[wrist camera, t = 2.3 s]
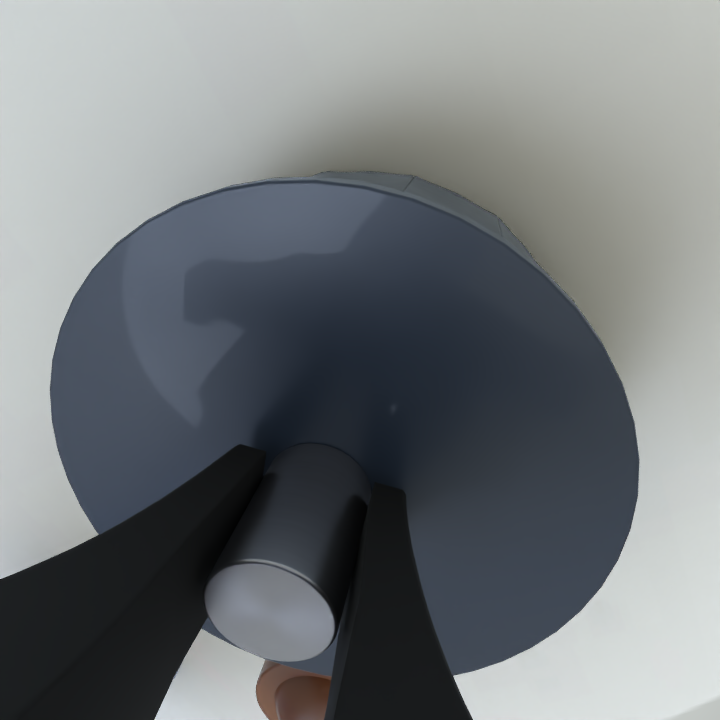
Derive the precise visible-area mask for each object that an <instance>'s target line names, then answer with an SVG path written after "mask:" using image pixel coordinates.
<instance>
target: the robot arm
mask: <svg viewBox="0 0 720 720" xmlns="http://www.w3.org/2000/svg"><path fill="white" fill-rule="evenodd" d="M265 459H266V451H264V450H260V449H256V448H253V447H249V446H246V445H242V444H239V445H237V446H235V447H233V448H232V449H231V450H229V451H228V452H227V453H225V454H224V455H223V456H221V457H220V458H219V459H217V460H216V461H215V462H213V463H212V464H211V465H209V466H208V467H206V468H205V469H204V470H202V471H201V472H199V473H198V474H197V475H195V476H194V477H192V478H191V479H189V480H188V481H187V482H185V483H184V484H182V485H181V486H179V487H178V488H176V489H175V490H173V491H172V492H170V493H169V494H167V495H166V496H164V497H163V498H161V499H160V500H158V501H156V502H155V503H153V504H151V505H150V506H148V507H146V508H145V509H143V510H142V511H140V512H138V513H137V514H135V515H133V516H132V517H130V518H128V519H127V520H125V521H123V522H121V523H120V524H118V525H116V526H114V527H112V528H111V529H109V530H107V531H105V532H103V533H101V534H100V535H98V536H96V537H94V538H92V539H90V540H88V541H86V542H84V543H82V544H80V545H78V546H76V547H74V548H72V549H70V550H67V551H65V552H63V553H61V554H59V555H56V556H54V557H52V558H50V559H48V560H45V561H43V562H41V563H38V564H36V565H34V566H31V567H29V568H27V569H24V570H22V571H20V572H17V573H15V574H13V575H10V576H7V577H5V578H2V579H0V720H154V719H155V717H156V715H157V712H158V710H159V708H160V706H161V704H162V702H163V699H164V697H165V695H166V693H167V691H168V689H169V687H170V684H171V682H172V680H173V679H174V678H175V676H176V674H177V672H178V669H179V667H180V665H181V663H182V661H183V659H184V657H185V656H186V654H187V652H188V650H189V649H190V647H191V645H192V643H193V642H194V640H195V638H196V637H197V635H198V633H199V631H200V630H201V628H202V626H203V624H204V623H205V621H206V619H207V617H208V615H207V613H206V610H205V607H204V603H203V589H204V585H205V582H206V580H207V578H208V576H209V574H210V573H211V571H212V569H213V567H214V566H215V564H216V562H217V560H218V558H219V557H220V555H221V553H222V551H223V549H224V548H225V546H226V544H227V542H228V540H229V539H230V537H231V535H232V533H233V531H234V530H235V528H236V526H237V524H238V522H239V521H240V519H241V517H242V515H243V513H244V512H245V510H246V508H247V506H248V504H249V503H250V501H251V499H252V497H253V495H254V494H255V492H256V490H257V488H258V486H259V485H260V483H261V481H262V479H263V473H264V466H265ZM324 720H473V719H472V717H471V715H470V713H469V711H468V709H467V707H466V705H465V703H464V700H463V698H462V696H461V694H460V692H459V689H458V687H457V685H456V682H455V680H454V677H453V675H452V673H451V670H450V668H449V666H448V663H447V660H446V658H445V655H444V653H443V650H442V647H441V645H440V642H439V640H438V637H437V634H436V631H435V628H434V625H433V622H432V619H431V616H430V613H429V610H428V606H427V603H426V600H425V596H424V593H423V589H422V586H421V582H420V578H419V574H418V570H417V566H416V561H415V557H414V553H413V548H412V543H411V537H410V531H409V525H408V517H407V505H406V494H405V492H404V491H403V490H402V489H398V488H395V487H391V486H388V485H384V484H381V483H377V482H375V483H374V487H373V490H372V494H371V498H370V502H369V505H368V509H367V513H366V517H365V521H364V525H363V528H362V532H361V536H360V540H359V545H358V550H357V556H356V561H355V566H354V570H353V574H352V577H351V581H350V585H349V589H348V593H347V597H346V601H345V605H344V609H343V613H342V617H341V621H340V628H339V634H338V640H337V646H336V652H335V658H334V665H333V671H332V677H331V683H330V689H329V696H328V702H327V707H326V712H325V717H324Z"/></svg>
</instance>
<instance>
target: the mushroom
mask: <svg viewBox="0 0 720 720" xmlns="http://www.w3.org/2000/svg"><path fill="white" fill-rule="evenodd" d="M330 683H331V676H325V675H320V674H316V673H311V672H307V671H303V670H299V669H295V668H291V667H288V666H285V665H282V664H279V663H276V662H273V661H270V660H267V659H265V662H264V665H263V668H262V670H261V673H260V676H259V678H258V681H257V685H256V696H257V701H258V703H259V706H260V708H261V709H262V711H263V713H264V714H265V715H266V717H267V718H268V719H269V720H324V717H325V712H326V707H327V702H328V696H329V689H330Z"/></svg>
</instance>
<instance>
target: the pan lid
mask: <svg viewBox="0 0 720 720" xmlns="http://www.w3.org/2000/svg"><path fill="white" fill-rule="evenodd" d="M50 398H51V414H52V423H53V428H54V433H55V438H56V443H57V448H58V452H59V455H60V458H61V461H62V464H63V466H64V469H65V472H66V475H67V478H68V480H69V483H70V485H71V487H72V489H73V491H74V493H75V495H76V497H77V499H78V501H79V504H80V506H81V507H82V509H83V511H84V512H85V514H86V515H87V517H88V519H89V520H90V522H91V523H92V525H93V527H94V528H95V530H96V532H97V533H98V534H99V535H100V534H101V533H103V532H105V531H107V530H109V529H111V528H112V527H114V526H116V525H118V524H120V523H121V522H123V521H125V520H127V519H128V518H130V517H132V516H133V515H135V514H137V513H138V512H140V511H142V510H143V509H145V508H146V507H148V506H150V505H151V504H153V503H155V502H156V501H158V500H160V499H161V498H163V497H164V496H166V495H167V494H169V493H170V492H172V491H173V490H175V489H176V488H178V487H179V486H181V485H182V484H184V483H185V482H187V481H188V480H189V479H191V478H192V477H194V476H195V475H197V474H198V473H199V472H201V471H202V470H204V469H205V468H206V467H208V466H209V465H211V464H212V463H213V462H215V461H216V460H217V459H219V458H220V457H221V456H223V455H224V454H225V453H227V452H228V451H229V450H231V449H232V448H233V447H235V446H237V445H239V444H242V445H246V446H249V447H253V448H256V449H260V450H264V451H266V459H265V466H264V473H263V479H262V481H261V483H260V485H259V486H258V488H257V490H256V492H255V494H254V495H253V497H252V499H251V501H250V503H249V504H248V506H247V508H246V510H245V512H244V513H243V515H242V517H241V519H240V521H239V522H238V524H237V526H236V528H235V530H234V531H233V533H232V535H231V537H230V539H229V540H228V542H227V544H226V546H225V548H224V549H223V551H222V553H221V555H220V557H219V558H218V560H217V562H216V564H215V566H214V567H213V569H212V571H211V573H210V574H209V576H208V578H207V580H206V582H205V585H204V589H203V603H204V607H205V610H206V613H207V615H208V617H207V619H206V621H205V623H204V624H203V626H202V629H204V630H205V631H207V632H208V633H210V634H212V635H214V636H216V637H218V638H220V639H222V640H224V641H226V642H228V643H229V644H231V645H233V646H235V647H238V648H240V649H242V650H245V651H247V652H249V653H252V654H254V655H257V656H259V657H261V658H264V659H267V660H270V661H273V662H276V663H279V664H282V665H285V666H288V667H291V668H295V669H299V670H303V671H307V672H311V673H316V674H320V675H325V676H331V677H332V671H333V665H334V658H335V652H336V646H337V640H338V634H339V628H340V621H341V617H342V613H343V609H344V605H345V601H346V597H347V593H348V589H349V585H350V581H351V577H352V574H353V570H354V566H355V561H356V556H357V550H358V545H359V540H360V536H361V532H362V528H363V525H364V521H365V517H366V513H367V509H368V505H369V502H370V498H371V494H372V490H373V487H374V483H375V482H377V483H381V484H384V485H388V486H391V487H395V488H398V489H402V490H403V491H404V492H405V494H406V505H407V517H408V525H409V531H410V537H411V543H412V548H413V553H414V557H415V561H416V566H417V570H418V574H419V578H420V582H421V586H422V589H423V593H424V596H425V600H426V603H427V606H428V610H429V613H430V616H431V619H432V622H433V625H434V628H435V631H436V634H437V637H438V640H439V642H440V645H441V647H442V650H443V653H444V655H445V658H446V660H447V663H448V666H449V668H450V670H451V673H452V675H458V674H462V673H467V672H471V671H475V670H478V669H481V668H484V667H487V666H490V665H493V664H496V663H499V662H502V661H504V660H506V659H509V658H511V657H513V656H515V655H517V654H519V653H521V652H523V651H525V650H528V649H530V648H532V647H533V646H535V645H536V644H538V643H539V642H541V641H542V640H544V639H546V638H547V637H549V636H550V635H552V634H553V633H555V632H557V631H558V630H559V629H560V628H561V627H562V626H564V625H565V624H566V623H567V622H568V621H569V620H571V619H572V618H573V617H574V616H575V615H576V614H578V613H579V612H580V611H581V610H582V609H583V608H584V606H585V605H586V604H587V603H588V602H589V601H590V599H591V598H592V597H593V596H594V595H595V594H596V593H597V591H598V590H599V589H600V588H601V587H602V585H603V583H604V582H605V580H606V579H607V577H608V575H609V574H610V572H611V570H612V569H613V567H614V566H615V564H616V562H617V561H618V559H619V556H620V554H621V551H622V549H623V546H624V544H625V542H626V539H627V537H628V534H629V532H630V529H631V525H632V520H633V515H634V511H635V506H636V502H637V497H638V481H639V453H638V445H637V438H636V430H635V423H634V419H633V416H632V413H631V409H630V406H629V403H628V400H627V396H626V393H625V390H624V387H623V384H622V382H621V380H620V378H619V376H618V374H617V371H616V369H615V367H614V365H613V363H612V361H611V359H610V357H609V355H608V353H607V351H606V349H605V347H604V345H603V344H602V342H601V340H600V338H599V336H598V335H597V333H596V332H595V331H594V329H593V328H592V326H591V325H590V324H589V322H588V321H587V319H586V318H585V316H584V315H583V314H582V312H581V311H580V309H579V308H578V307H577V305H576V304H575V302H574V301H573V300H572V299H571V298H570V297H569V296H568V295H567V294H566V293H565V292H564V291H563V289H562V288H561V287H560V286H559V285H558V284H557V283H556V282H555V281H554V280H553V279H552V278H551V277H550V276H549V275H548V274H547V273H546V272H545V271H544V270H543V269H542V268H541V267H540V266H539V265H538V264H536V263H535V262H534V261H532V260H531V259H530V258H529V257H527V256H526V255H525V254H524V253H522V252H521V251H520V250H518V249H517V248H516V247H515V246H513V245H512V244H511V243H510V242H508V241H507V240H506V239H504V238H503V237H501V236H499V235H498V234H496V233H494V232H493V231H491V230H489V229H487V228H486V227H484V226H482V225H481V224H479V223H477V222H475V221H474V220H472V219H470V218H468V217H467V216H465V215H463V214H462V213H459V212H457V211H454V210H452V209H450V208H447V207H445V206H442V205H440V204H437V203H435V202H433V201H430V200H428V199H425V198H423V197H420V196H418V195H415V194H412V193H408V192H404V191H400V190H396V189H392V188H388V187H385V186H381V185H377V184H373V183H369V182H362V181H353V180H345V179H336V178H328V177H286V178H271V179H265V180H259V181H253V182H247V183H241V184H236V185H231V186H228V187H225V188H222V189H219V190H216V191H213V192H210V193H207V194H204V195H201V196H198V197H195V198H192V199H189V200H186V201H183V202H181V203H179V204H177V205H175V206H173V207H171V208H169V209H167V210H166V211H164V212H162V213H160V214H158V215H156V216H154V217H152V218H150V219H148V220H147V221H145V222H144V223H143V224H141V225H140V226H139V227H137V228H136V229H135V230H133V231H132V232H131V233H129V234H128V235H127V236H125V237H124V238H123V239H121V240H120V241H119V242H117V243H116V244H115V245H114V246H113V248H112V249H111V250H110V251H109V252H108V253H107V254H106V255H105V256H104V257H103V258H102V259H101V260H100V261H99V262H98V264H97V265H96V266H95V267H94V268H93V269H92V270H91V272H90V273H89V275H88V276H87V278H86V279H85V281H84V283H83V284H82V286H81V287H80V289H79V290H78V292H77V293H76V295H75V296H74V298H73V300H72V302H71V305H70V307H69V309H68V312H67V314H66V316H65V319H64V321H63V323H62V325H61V328H60V331H59V335H58V339H57V343H56V347H55V351H54V355H53V360H52V372H51V384H50Z"/></svg>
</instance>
